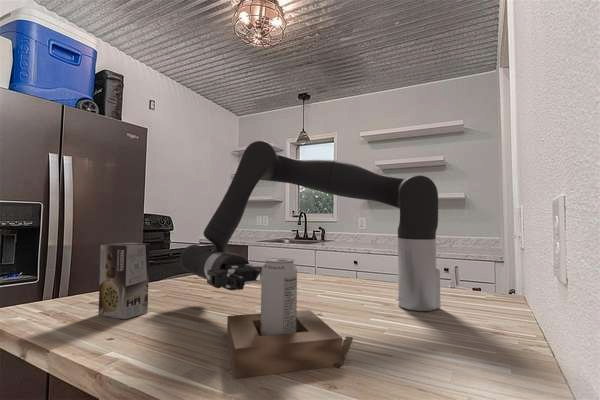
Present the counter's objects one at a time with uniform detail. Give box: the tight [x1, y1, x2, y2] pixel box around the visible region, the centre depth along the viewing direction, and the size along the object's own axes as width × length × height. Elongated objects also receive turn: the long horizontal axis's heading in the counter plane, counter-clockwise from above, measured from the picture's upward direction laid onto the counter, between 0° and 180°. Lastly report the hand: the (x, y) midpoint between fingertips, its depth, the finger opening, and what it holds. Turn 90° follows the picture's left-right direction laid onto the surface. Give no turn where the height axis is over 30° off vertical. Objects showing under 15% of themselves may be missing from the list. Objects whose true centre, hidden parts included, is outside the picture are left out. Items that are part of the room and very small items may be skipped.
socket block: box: [226, 309, 343, 379], centre depth 55 cm, size 16×16×4 cm
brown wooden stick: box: [332, 336, 353, 369], centre depth 55 cm, size 13×1×1 cm, turn 163°
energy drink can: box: [260, 257, 298, 336], centre depth 55 cm, size 6×6×15 cm
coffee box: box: [98, 242, 151, 320], centre depth 76 cm, size 9×6×16 cm
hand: (263, 281), depth 60 cm, fingers open, 8 cm apart
